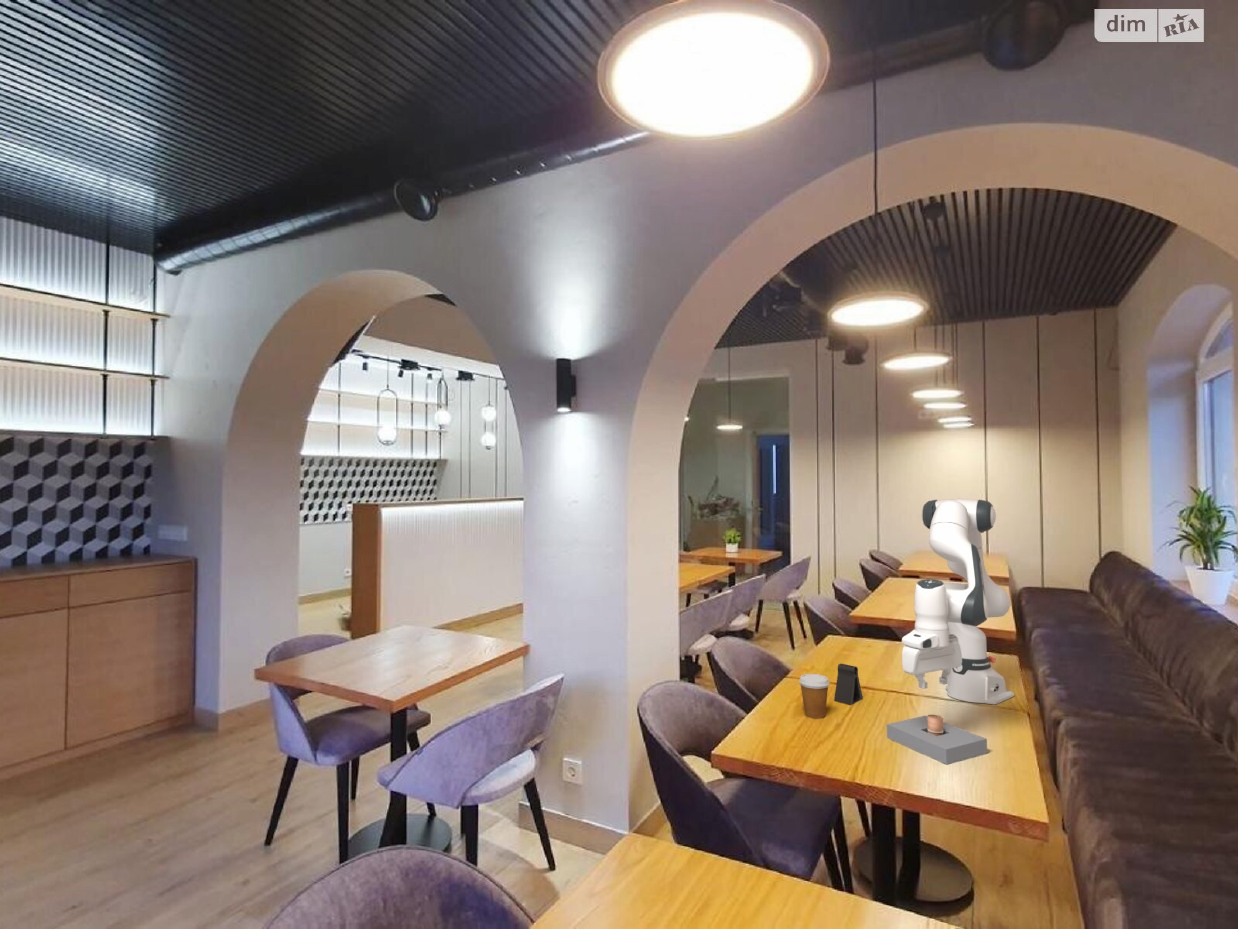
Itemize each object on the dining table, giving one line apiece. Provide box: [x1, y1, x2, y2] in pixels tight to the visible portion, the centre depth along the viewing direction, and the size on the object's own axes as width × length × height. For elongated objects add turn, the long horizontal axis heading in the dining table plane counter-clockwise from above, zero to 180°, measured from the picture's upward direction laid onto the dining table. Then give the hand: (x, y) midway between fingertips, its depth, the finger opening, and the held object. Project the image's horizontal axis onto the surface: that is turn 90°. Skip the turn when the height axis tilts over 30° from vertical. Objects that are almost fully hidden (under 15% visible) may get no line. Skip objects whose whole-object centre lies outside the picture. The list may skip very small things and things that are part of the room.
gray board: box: [886, 714, 988, 766], centre depth 182 cm, size 16×20×4 cm
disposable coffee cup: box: [798, 673, 830, 719], centre depth 207 cm, size 10×10×12 cm
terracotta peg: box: [926, 714, 944, 736], centre depth 182 cm, size 4×4×8 cm
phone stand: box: [833, 663, 864, 706], centre depth 221 cm, size 9×6×12 cm, turn 133°
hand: (933, 686), depth 182 cm, fingers open, 7 cm apart
